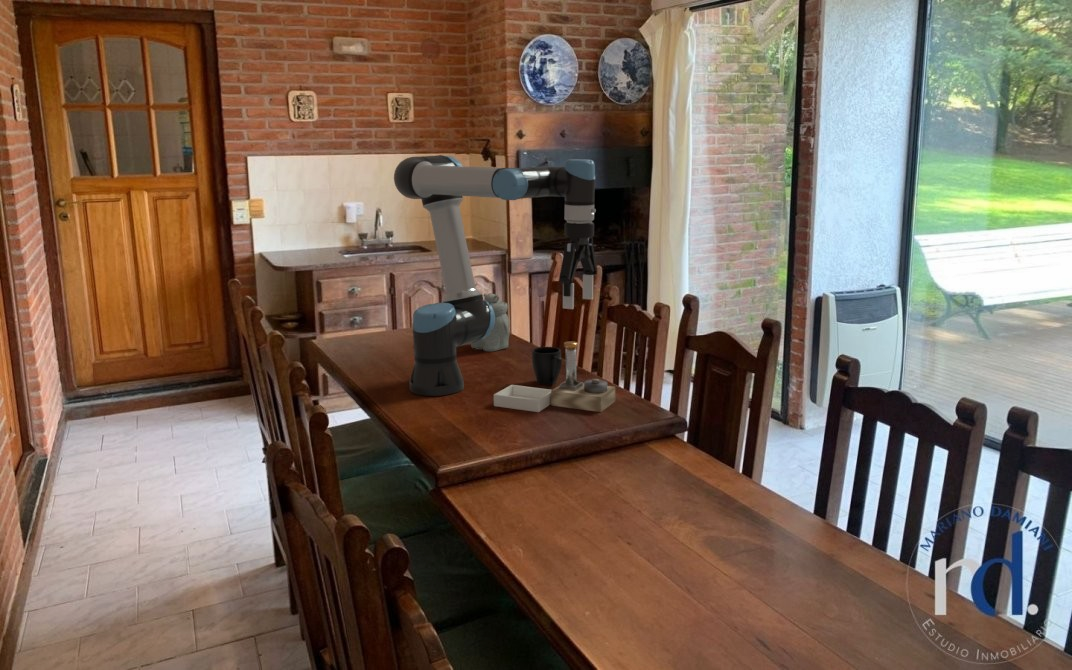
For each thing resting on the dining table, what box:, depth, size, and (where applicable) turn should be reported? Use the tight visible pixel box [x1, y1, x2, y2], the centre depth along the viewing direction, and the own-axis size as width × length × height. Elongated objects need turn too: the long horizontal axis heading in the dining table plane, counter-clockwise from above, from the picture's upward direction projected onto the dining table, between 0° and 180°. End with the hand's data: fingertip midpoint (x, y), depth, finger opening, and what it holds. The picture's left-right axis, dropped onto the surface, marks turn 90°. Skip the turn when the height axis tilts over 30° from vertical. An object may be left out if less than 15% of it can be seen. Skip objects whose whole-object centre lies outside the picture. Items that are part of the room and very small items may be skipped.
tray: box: [493, 384, 552, 413], centre depth 226 cm, size 13×10×3 cm
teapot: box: [470, 292, 510, 352], centre depth 286 cm, size 16×15×19 cm
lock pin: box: [563, 340, 579, 386], centre depth 225 cm, size 4×4×12 cm
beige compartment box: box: [550, 378, 616, 413], centre depth 225 cm, size 14×10×7 cm
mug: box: [531, 346, 563, 386], centre depth 243 cm, size 8×12×10 cm
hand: (578, 303), depth 223 cm, fingers open, 13 cm apart
